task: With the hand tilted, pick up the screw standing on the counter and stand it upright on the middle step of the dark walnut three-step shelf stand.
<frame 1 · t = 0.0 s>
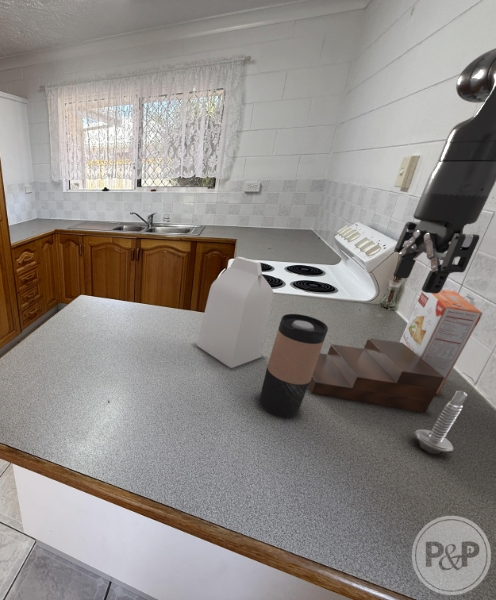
hand: (413, 284, 57), 27 cm above the counter, tool pointing down, fingers open, 8 cm apart
milk: (227, 351, 86), on the counter
cracker box: (411, 376, 77), on the counter
screw: (428, 449, 57), on the counter
shelf stand: (351, 382, 74), on the counter
travel mug: (277, 406, 66), on the counter
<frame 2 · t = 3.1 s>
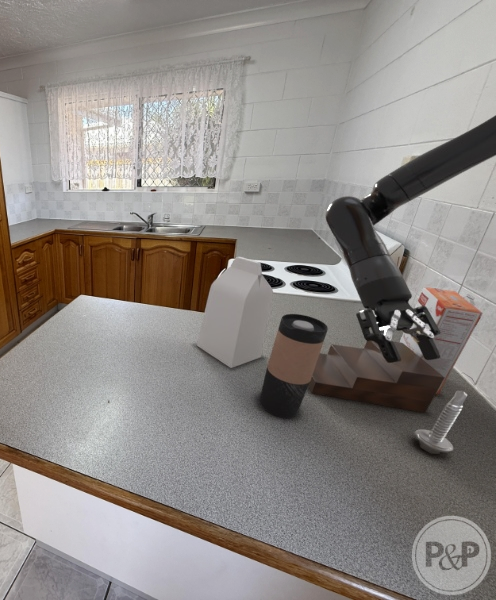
hand: (414, 360, 58), 14 cm above the counter, tool tilted 45°, fingers open, 8 cm apart
nothing on the counter moved.
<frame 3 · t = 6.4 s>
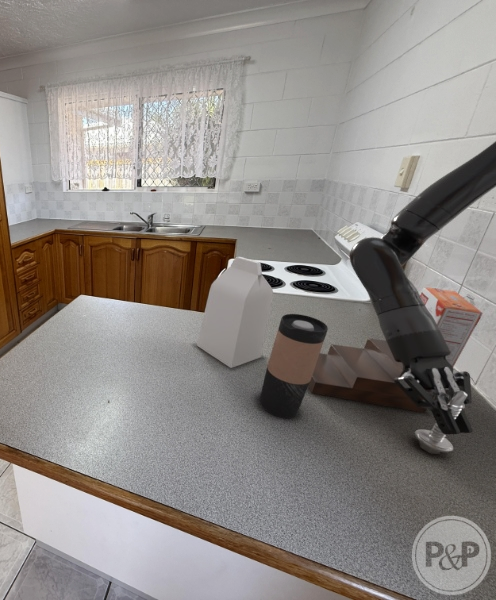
hand: (457, 432, 52), 6 cm above the counter, tool tilted 45°, fingers closed on screw, 2 cm apart
screw: (428, 449, 57), on the counter, touching gripper
everything else where it was.
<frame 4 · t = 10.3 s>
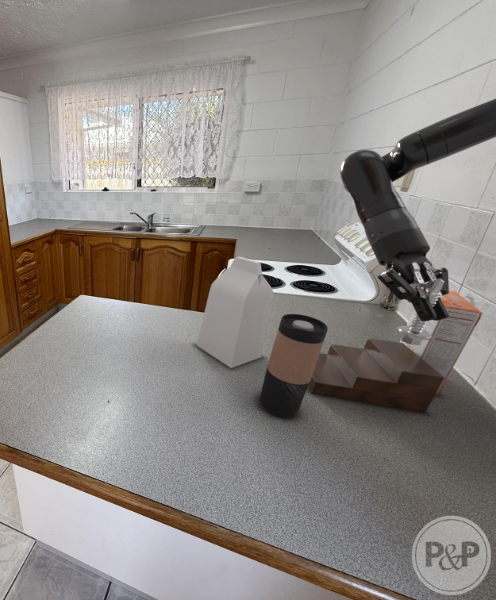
hand: (435, 319, 56), 22 cm above the counter, tool tilted 45°, fingers closed on screw
screw: (408, 342, 60), point 16 cm above the counter, touching gripper
everything else where it was.
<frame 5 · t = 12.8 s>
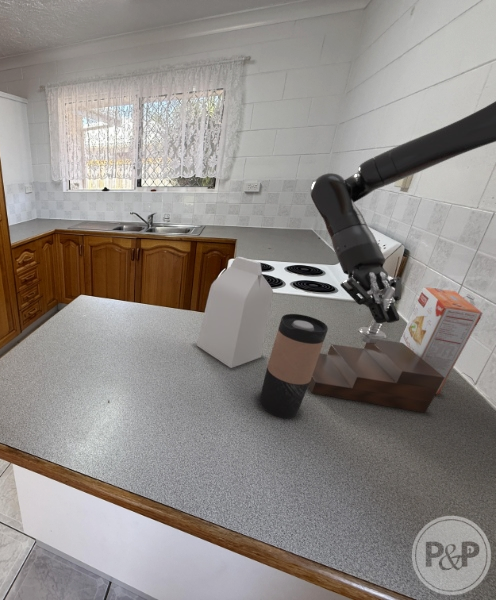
hand: (388, 321, 65), 17 cm above the counter, tool tilted 45°, fingers closed on screw
screw: (368, 341, 70), point 11 cm above the counter, touching gripper
everything else where it was.
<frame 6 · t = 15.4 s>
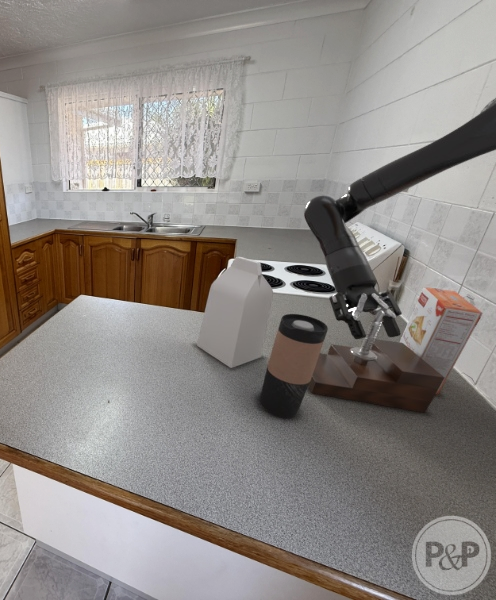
hand: (378, 337, 67), 13 cm above the counter, tool tilted 45°, fingers open, 8 cm apart
screw: (359, 361, 72), point 6 cm above the counter, touching shelf stand
everything else where it was.
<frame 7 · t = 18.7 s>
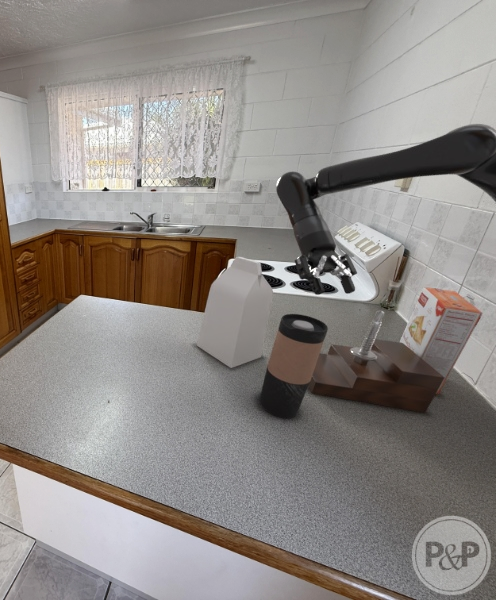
hand: (335, 293, 77), 18 cm above the counter, tool tilted 45°, fingers open, 8 cm apart
nothing on the counter moved.
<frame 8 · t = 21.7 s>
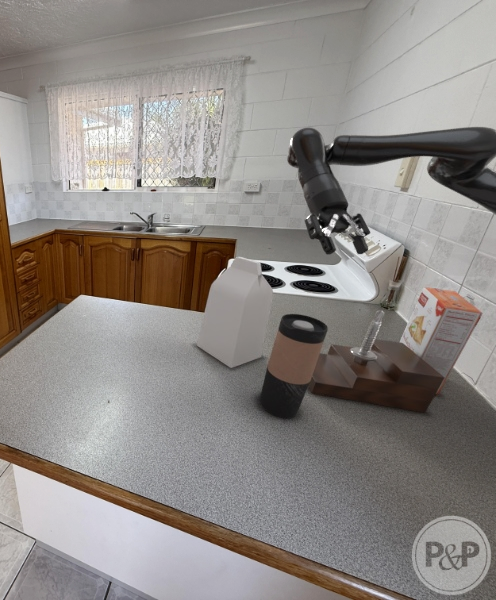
hand: (347, 252, 73), 29 cm above the counter, tool tilted 45°, fingers open, 8 cm apart
nothing on the counter moved.
at the end: screw inside the target area on the shelf stand (0.2 cm from its centre), point 5.8 cm above the shelf stand's base; screw tilted 0°; the gripper is holding nothing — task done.
